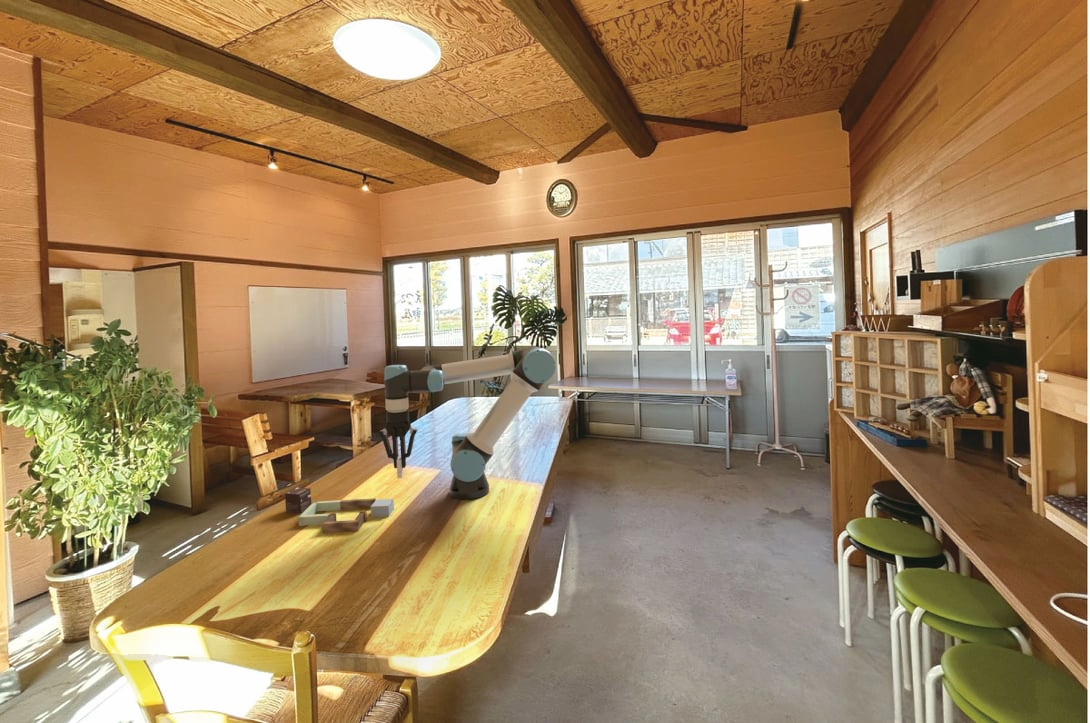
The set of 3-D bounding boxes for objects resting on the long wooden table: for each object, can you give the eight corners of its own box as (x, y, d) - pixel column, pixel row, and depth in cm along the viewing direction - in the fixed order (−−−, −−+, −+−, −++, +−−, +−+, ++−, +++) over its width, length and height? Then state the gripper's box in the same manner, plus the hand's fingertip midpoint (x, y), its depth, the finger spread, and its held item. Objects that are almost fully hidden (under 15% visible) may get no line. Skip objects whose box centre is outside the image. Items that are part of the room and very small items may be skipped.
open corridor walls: (376, 506, 169) (375, 498, 169) (359, 530, 150) (359, 521, 149) (341, 508, 168) (341, 500, 168) (321, 533, 149) (320, 524, 148)
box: (300, 514, 164) (298, 494, 163) (285, 513, 165) (283, 493, 164) (312, 507, 170) (310, 488, 169) (297, 506, 171) (296, 487, 170)
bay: (341, 508, 168) (341, 500, 168) (328, 524, 155) (328, 515, 155) (314, 509, 167) (313, 501, 167) (298, 526, 154) (298, 517, 154)
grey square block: (394, 509, 166) (393, 498, 166) (389, 517, 160) (388, 505, 160) (377, 510, 166) (376, 499, 165) (371, 517, 160) (370, 506, 159)
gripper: (418, 407, 164) (421, 472, 167) (380, 408, 163) (384, 474, 165) (414, 411, 157) (417, 479, 159) (374, 413, 156) (378, 481, 158)
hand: (400, 476), depth 162 cm, fingers closed
